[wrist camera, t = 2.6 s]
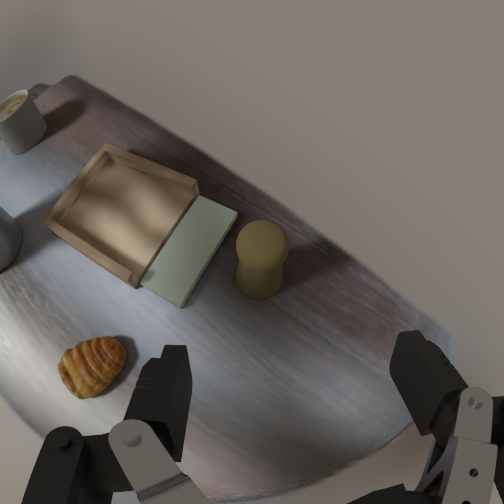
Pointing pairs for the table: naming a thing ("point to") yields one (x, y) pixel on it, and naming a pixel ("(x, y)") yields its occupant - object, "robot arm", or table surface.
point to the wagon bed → (122, 211)
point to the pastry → (91, 366)
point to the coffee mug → (20, 122)
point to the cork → (261, 259)
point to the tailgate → (189, 251)
